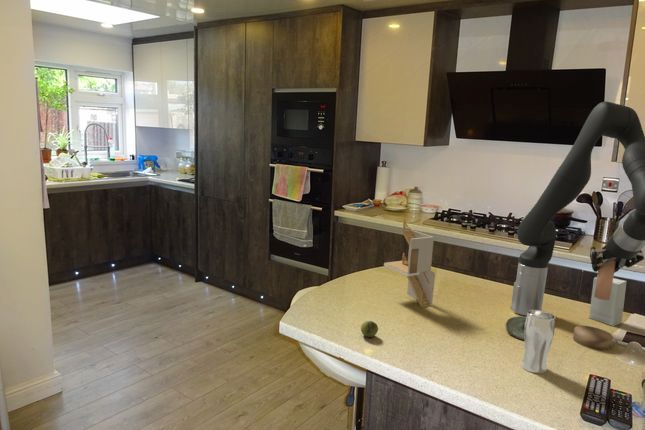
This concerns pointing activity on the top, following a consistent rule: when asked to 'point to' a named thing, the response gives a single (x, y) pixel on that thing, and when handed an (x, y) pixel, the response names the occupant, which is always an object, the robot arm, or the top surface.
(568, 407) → the top surface
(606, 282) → the pink drinking glass
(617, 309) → the skincare box
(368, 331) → the lime
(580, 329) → the base
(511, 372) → the top surface
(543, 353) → the beer glass
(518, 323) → the lid
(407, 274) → the staircase
